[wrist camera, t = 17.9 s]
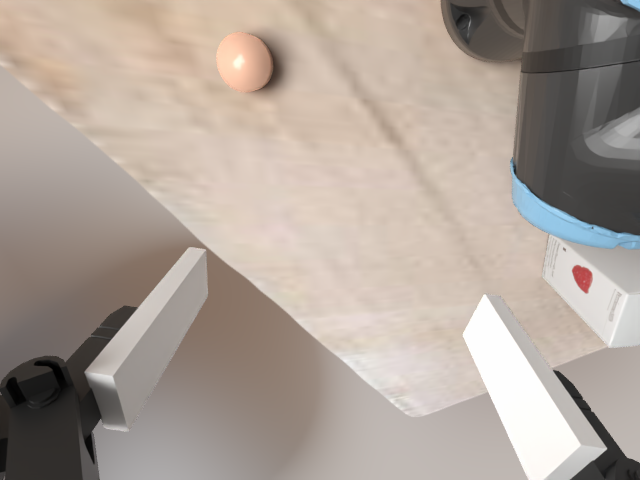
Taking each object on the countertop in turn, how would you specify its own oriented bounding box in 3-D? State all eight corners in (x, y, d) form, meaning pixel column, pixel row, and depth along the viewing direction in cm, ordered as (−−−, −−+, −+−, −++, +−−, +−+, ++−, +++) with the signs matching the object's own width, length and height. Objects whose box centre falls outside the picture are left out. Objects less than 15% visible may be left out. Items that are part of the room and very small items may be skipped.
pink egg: (275, 39, 37) (270, 37, 34) (271, 94, 40) (266, 96, 37) (225, 30, 36) (216, 27, 34) (225, 86, 39) (217, 87, 37)
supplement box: (547, 229, 47) (628, 293, 34) (614, 220, 45) (724, 282, 32) (539, 277, 51) (608, 350, 38) (599, 270, 50) (692, 343, 37)
